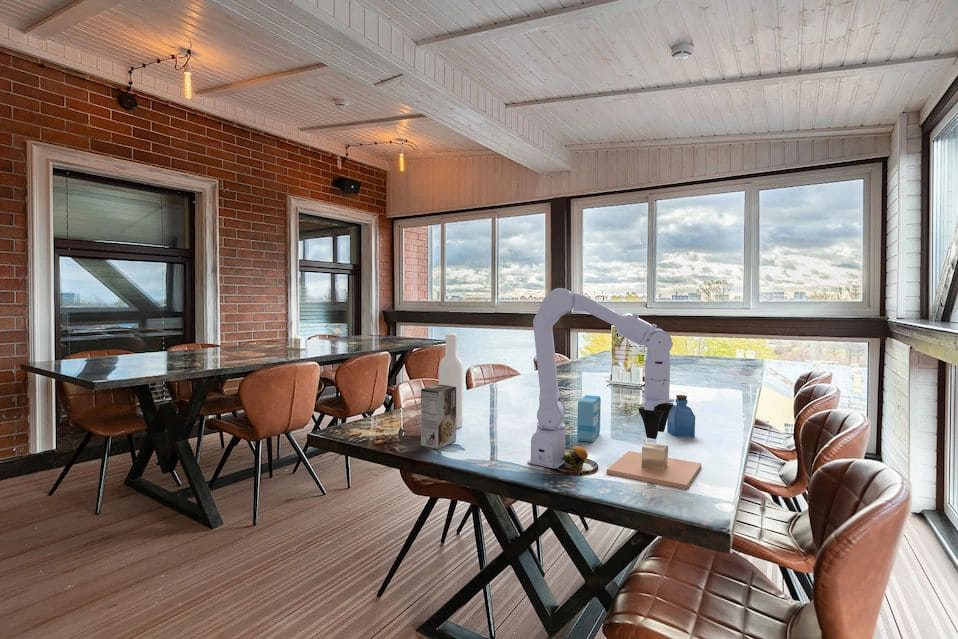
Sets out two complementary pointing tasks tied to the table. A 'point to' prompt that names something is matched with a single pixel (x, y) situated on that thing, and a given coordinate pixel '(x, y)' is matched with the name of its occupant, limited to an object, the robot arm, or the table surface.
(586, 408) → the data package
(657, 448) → the birch cube
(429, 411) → the coffee box
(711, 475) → the table surface
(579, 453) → the burger
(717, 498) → the table surface
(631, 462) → the terracotta tile
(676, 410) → the perfume bottle
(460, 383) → the bottle
